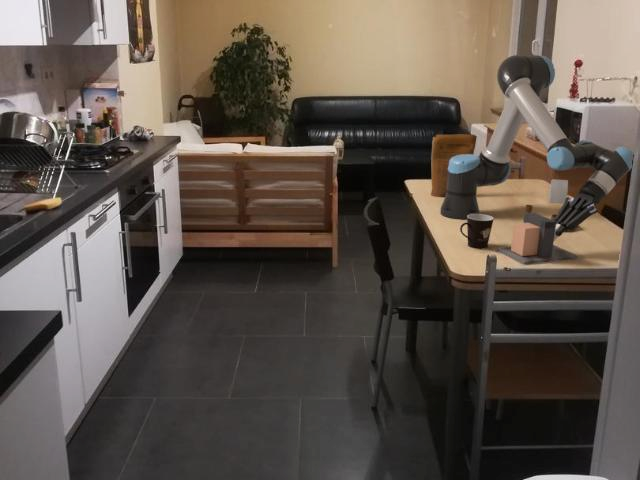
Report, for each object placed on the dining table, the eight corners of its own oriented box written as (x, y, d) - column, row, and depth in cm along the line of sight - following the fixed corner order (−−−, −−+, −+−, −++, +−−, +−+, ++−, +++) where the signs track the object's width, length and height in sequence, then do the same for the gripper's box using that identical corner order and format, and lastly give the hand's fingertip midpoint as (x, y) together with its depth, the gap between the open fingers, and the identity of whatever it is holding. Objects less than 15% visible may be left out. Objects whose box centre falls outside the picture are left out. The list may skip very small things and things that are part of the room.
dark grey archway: (540, 257, 199) (545, 222, 195) (520, 247, 208) (524, 213, 205) (551, 256, 200) (556, 221, 196) (530, 246, 209) (534, 212, 206)
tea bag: (565, 203, 273) (568, 181, 270) (549, 202, 274) (552, 180, 271) (564, 201, 276) (567, 179, 273) (548, 200, 277) (551, 178, 274)
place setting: (543, 233, 230) (545, 218, 228) (521, 219, 249) (523, 204, 247) (589, 233, 232) (591, 217, 230) (563, 218, 251) (565, 204, 249)
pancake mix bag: (472, 199, 278) (478, 135, 269) (428, 197, 279) (433, 133, 271) (470, 195, 284) (475, 133, 276) (427, 194, 286) (431, 131, 277)
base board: (523, 264, 195) (524, 261, 195) (497, 250, 208) (498, 248, 207) (578, 258, 201) (578, 255, 201) (549, 245, 214) (549, 243, 214)
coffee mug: (486, 242, 217) (489, 214, 214) (493, 250, 209) (497, 220, 206) (452, 241, 216) (455, 213, 213) (459, 249, 208) (461, 220, 205)
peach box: (522, 256, 199) (525, 228, 196) (510, 250, 204) (513, 223, 202) (548, 253, 202) (552, 226, 199) (536, 247, 207) (540, 221, 205)
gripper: (617, 200, 200) (566, 254, 200) (587, 191, 212) (540, 242, 211) (606, 184, 197) (555, 240, 196) (577, 176, 209) (529, 228, 208)
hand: (547, 241), depth 204 cm, fingers closed
